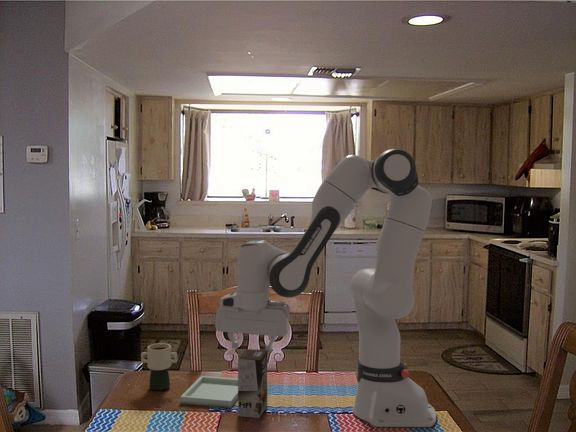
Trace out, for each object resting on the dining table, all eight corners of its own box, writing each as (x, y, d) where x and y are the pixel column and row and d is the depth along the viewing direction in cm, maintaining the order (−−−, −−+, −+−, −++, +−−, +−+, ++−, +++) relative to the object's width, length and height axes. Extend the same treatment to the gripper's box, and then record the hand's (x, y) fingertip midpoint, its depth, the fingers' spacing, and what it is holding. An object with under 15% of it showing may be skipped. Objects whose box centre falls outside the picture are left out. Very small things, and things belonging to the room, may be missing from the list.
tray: (247, 385, 180) (247, 379, 180) (231, 407, 163) (231, 401, 163) (201, 382, 183) (201, 375, 183) (180, 403, 166) (180, 396, 166)
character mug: (179, 383, 181) (179, 342, 180) (175, 392, 174) (175, 350, 173) (144, 384, 181) (143, 342, 180) (138, 392, 174) (138, 350, 173)
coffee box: (260, 418, 156) (260, 360, 155) (237, 416, 158) (236, 358, 156) (268, 405, 165) (268, 349, 164) (246, 403, 167) (246, 348, 165)
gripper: (292, 299, 160) (291, 349, 161) (220, 294, 164) (220, 343, 165) (287, 304, 154) (286, 356, 155) (213, 299, 158) (212, 349, 159)
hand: (251, 349), depth 160 cm, fingers open, 8 cm apart
